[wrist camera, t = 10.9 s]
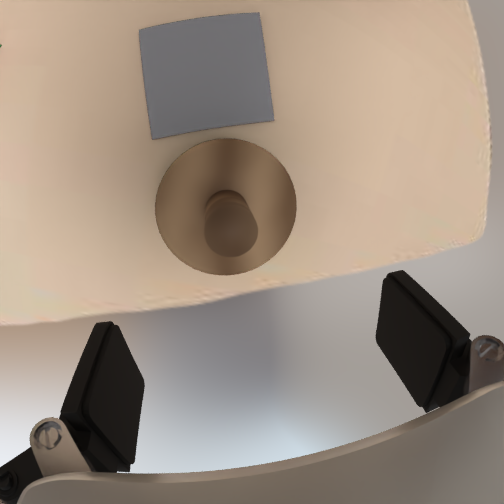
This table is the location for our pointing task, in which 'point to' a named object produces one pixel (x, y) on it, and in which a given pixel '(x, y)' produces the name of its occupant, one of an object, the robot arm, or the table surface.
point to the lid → (225, 206)
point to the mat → (205, 74)
